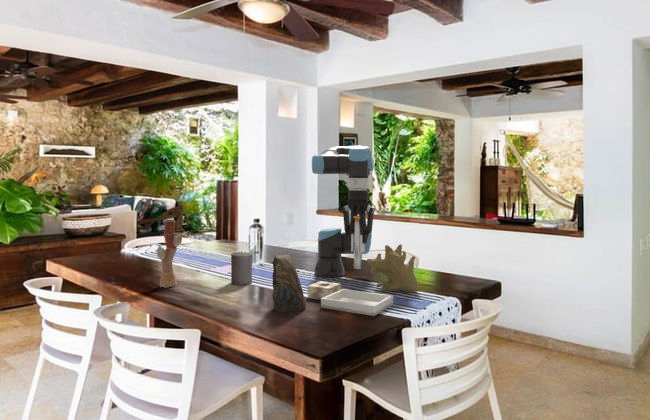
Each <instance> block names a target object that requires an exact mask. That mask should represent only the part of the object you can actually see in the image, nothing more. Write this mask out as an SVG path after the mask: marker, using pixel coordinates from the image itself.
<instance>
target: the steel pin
mask: <svg viewBox="0 0 650 420" xmlns="http://www.w3.org/2000/svg"><path fill="white" fill-rule="evenodd" d="M353 218H354V254H353V269H355V270H362V269H363V268H362V266H363V263H362V262H363V259H362V258H363V254H362V252H360V235H361V234H362V231H361V223H360V219H361V217H359V216H353Z"/></svg>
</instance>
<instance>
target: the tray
mask: <svg viewBox="0 0 650 420" xmlns="http://www.w3.org/2000/svg"><path fill="white" fill-rule="evenodd" d="M393 305H394V295H392V294H386V293H384V294H383V293H377V292H371V291H362V290H356V289H346V288H341V290H339V291H337V292H335V293H332V294H330V295H328V296H325V297H323V298H321V300H320V308H322V309H327V310H328V309H329V310H334V311H341V312H346V313H352V314H353V313H354V314H358V315H365V316H372V317H376V316H377V315H378V314H380V313H381V312H383V311H385V310H387V309H388V308H390V307H392V306H393Z"/></svg>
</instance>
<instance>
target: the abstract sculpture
mask: <svg viewBox="0 0 650 420" xmlns="http://www.w3.org/2000/svg"><path fill="white" fill-rule="evenodd" d="M162 223H163V224H164V229H163V238H164V241H165V248H164V247H162V246H157V249H156V256H157V258H158V259H159V260H160V261H161V276H160V281H159V288H161V287H164V288H163V289H170V288H169V287H172V288H175V286H176V287H177V285H178V281H177V278H176V274H175V272H174V268H173V267H174V266H173V260H174V257H175V255H176V252H177V251H178V250H177V248H178V247H179V246H180V245H181V244H182V241H183V236H182V234H180V233H179V234H177V235H175V229H176V220H173V219H163V220H162Z"/></svg>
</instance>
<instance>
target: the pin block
mask: <svg viewBox="0 0 650 420" xmlns="http://www.w3.org/2000/svg"><path fill="white" fill-rule="evenodd" d="M341 289H342V283H338V282H330V281H324V280H320V281H316V282H314V283H311V284H309V285H307V298H308V299H314V300H320V301H321V298H323V297H325V296H328V295H330V294H332V293H335V292H337V291H339V290H341Z"/></svg>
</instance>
